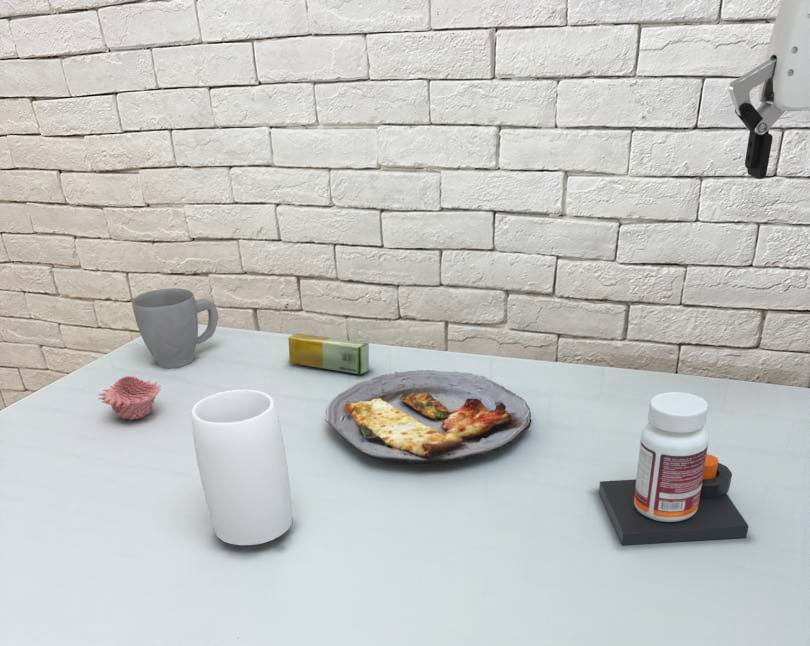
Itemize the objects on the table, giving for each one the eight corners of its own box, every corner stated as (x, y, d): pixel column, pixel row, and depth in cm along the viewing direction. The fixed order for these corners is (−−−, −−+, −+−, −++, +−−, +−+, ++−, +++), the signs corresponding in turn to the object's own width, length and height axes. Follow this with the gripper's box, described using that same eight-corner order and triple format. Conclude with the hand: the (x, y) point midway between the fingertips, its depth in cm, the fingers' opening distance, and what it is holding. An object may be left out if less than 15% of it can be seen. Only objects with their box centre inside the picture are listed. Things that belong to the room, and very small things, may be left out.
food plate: (568, 438, 101) (569, 411, 99) (398, 497, 91) (396, 469, 90) (452, 372, 119) (451, 348, 117) (300, 416, 110) (297, 390, 108)
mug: (157, 377, 123) (142, 312, 117) (138, 359, 129) (123, 296, 124) (234, 357, 128) (223, 294, 123) (212, 341, 134) (201, 279, 129)
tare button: (711, 467, 88) (713, 452, 87) (719, 480, 86) (722, 465, 85) (685, 469, 88) (688, 454, 87) (693, 481, 86) (696, 466, 85)
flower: (178, 415, 112) (170, 375, 109) (123, 436, 107) (113, 396, 104) (147, 399, 117) (138, 360, 113) (93, 419, 112) (82, 379, 109)
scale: (716, 482, 91) (720, 457, 89) (754, 537, 82) (759, 511, 80) (597, 489, 91) (599, 464, 89) (621, 545, 82) (624, 519, 80)
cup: (206, 523, 89) (180, 397, 81) (285, 504, 91) (266, 381, 84) (222, 566, 82) (194, 434, 75) (306, 545, 85) (288, 415, 77)
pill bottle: (709, 506, 84) (727, 401, 78) (675, 531, 81) (692, 423, 75) (654, 485, 88) (668, 383, 82) (620, 509, 85) (631, 404, 78)
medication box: (370, 370, 121) (370, 342, 119) (361, 375, 119) (361, 347, 117) (297, 358, 126) (296, 331, 124) (288, 363, 124) (286, 336, 122)
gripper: (920, -40, 78) (872, 161, 88) (732, -29, 78) (705, 171, 88) (968, -41, 72) (911, 175, 82) (763, -29, 72) (730, 186, 82)
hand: (804, 173), depth 85 cm, fingers open, 9 cm apart
